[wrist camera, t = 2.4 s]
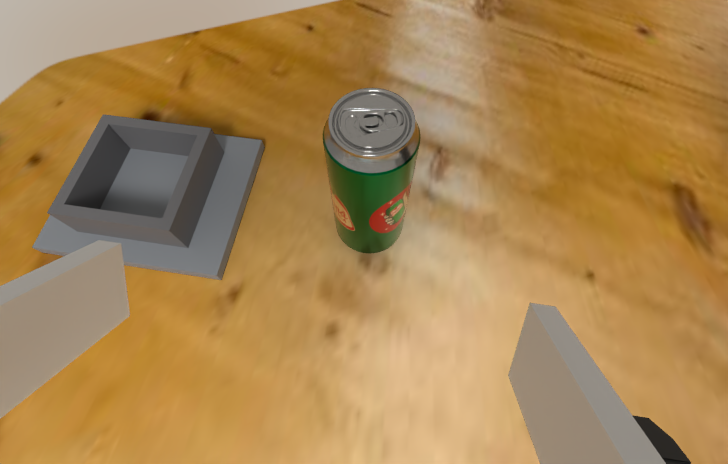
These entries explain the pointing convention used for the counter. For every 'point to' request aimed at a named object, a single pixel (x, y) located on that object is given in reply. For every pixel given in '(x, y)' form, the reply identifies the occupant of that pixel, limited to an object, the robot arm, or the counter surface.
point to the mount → (155, 195)
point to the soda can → (370, 166)
